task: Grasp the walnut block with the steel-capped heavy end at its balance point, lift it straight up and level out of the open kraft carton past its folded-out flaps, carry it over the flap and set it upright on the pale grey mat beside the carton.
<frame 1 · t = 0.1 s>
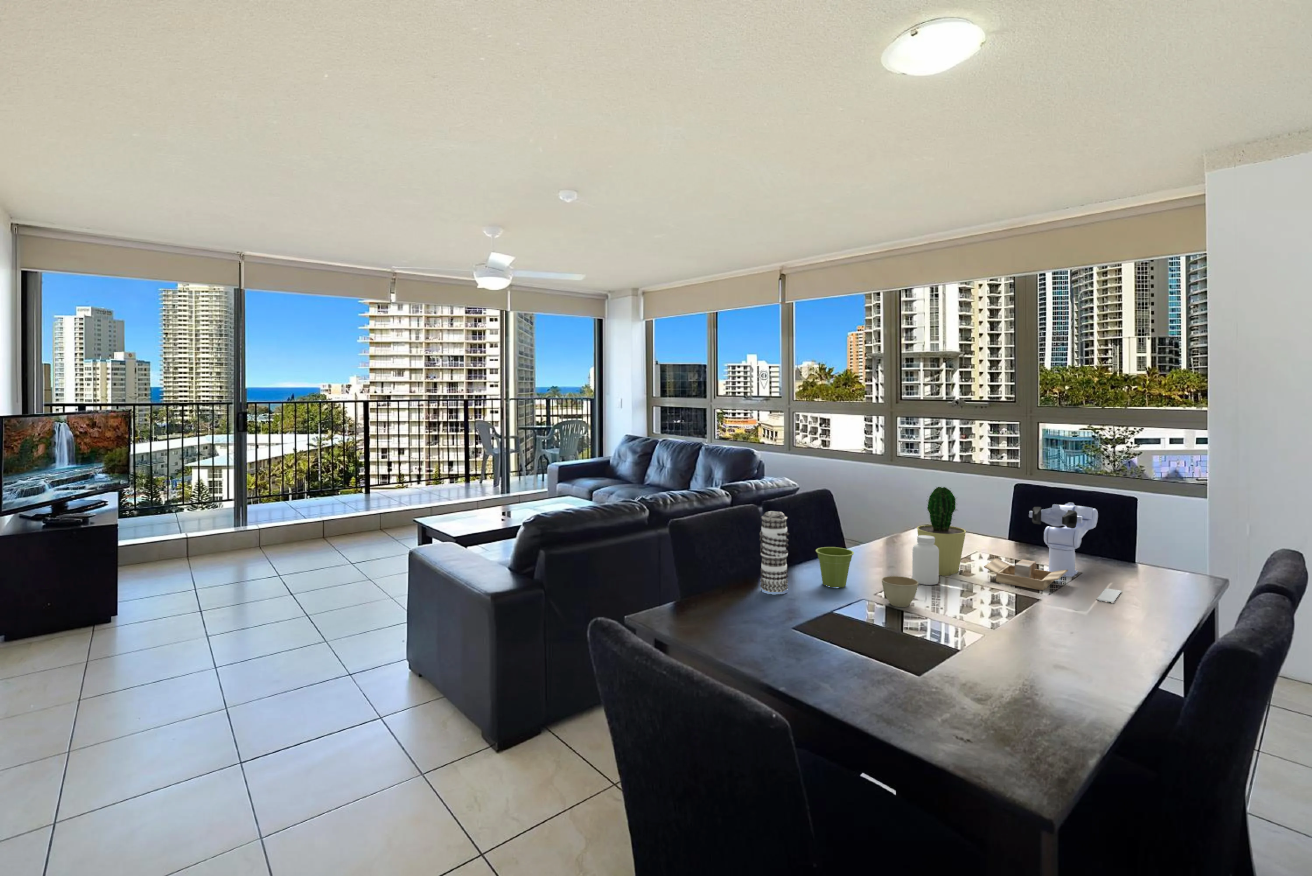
hand: (1048, 518, 196), 22 cm above the table, tool horizontal, fingers open, 7 cm apart
carton: (1024, 583, 201), on the table
flower pot: (899, 605, 182), on the table
plant pot: (834, 586, 201), on the table
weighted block: (1024, 581, 201), point 1 cm above the table, touching carton
grey mat: (1093, 593, 189), on the table
pill bottle: (925, 582, 203), on the table
potted cactus: (940, 571, 215), on the table
decorative candle: (774, 591, 196), on the table
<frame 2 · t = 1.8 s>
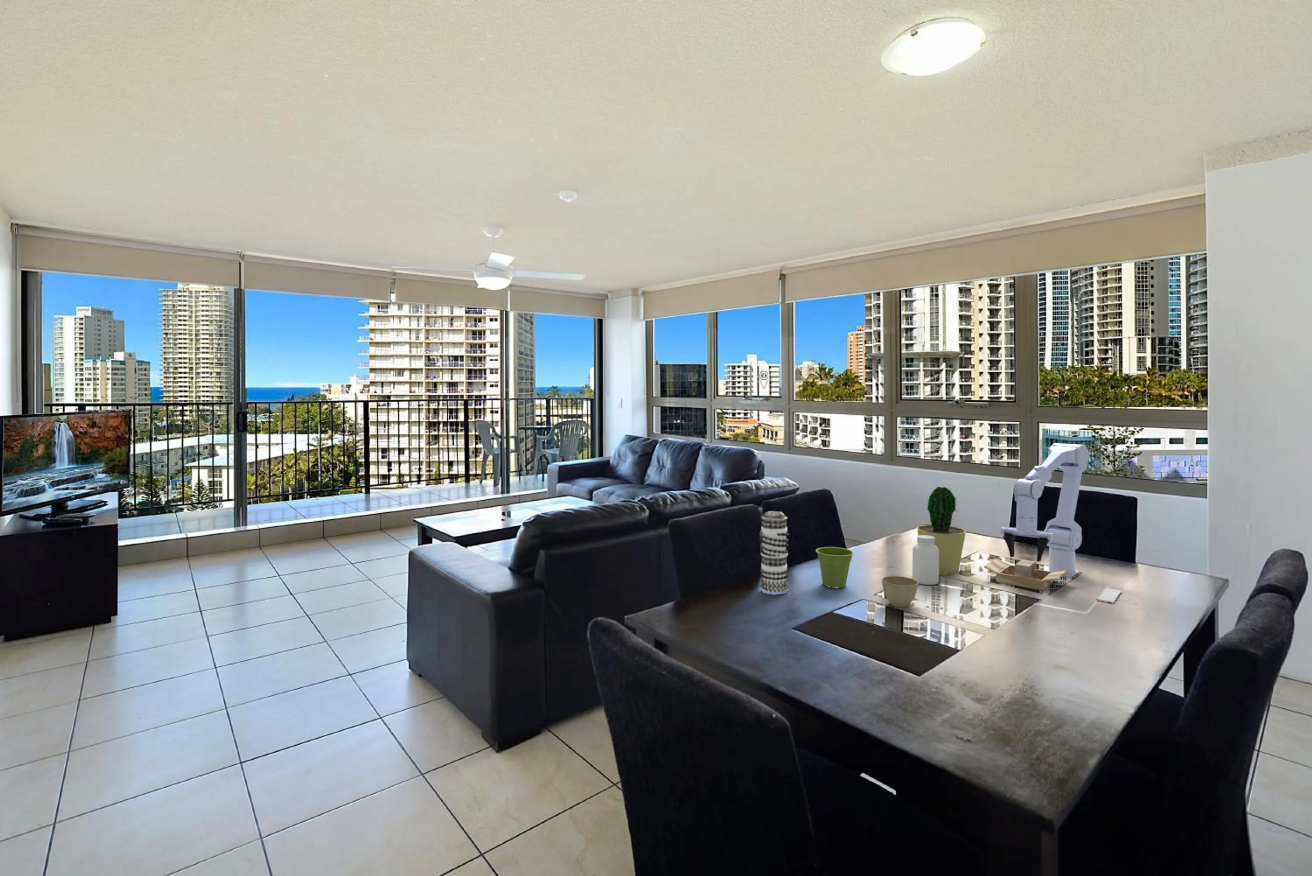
hand: (1025, 558, 200), 8 cm above the table, tool pointing down, fingers open, 7 cm apart
nothing on the table moved.
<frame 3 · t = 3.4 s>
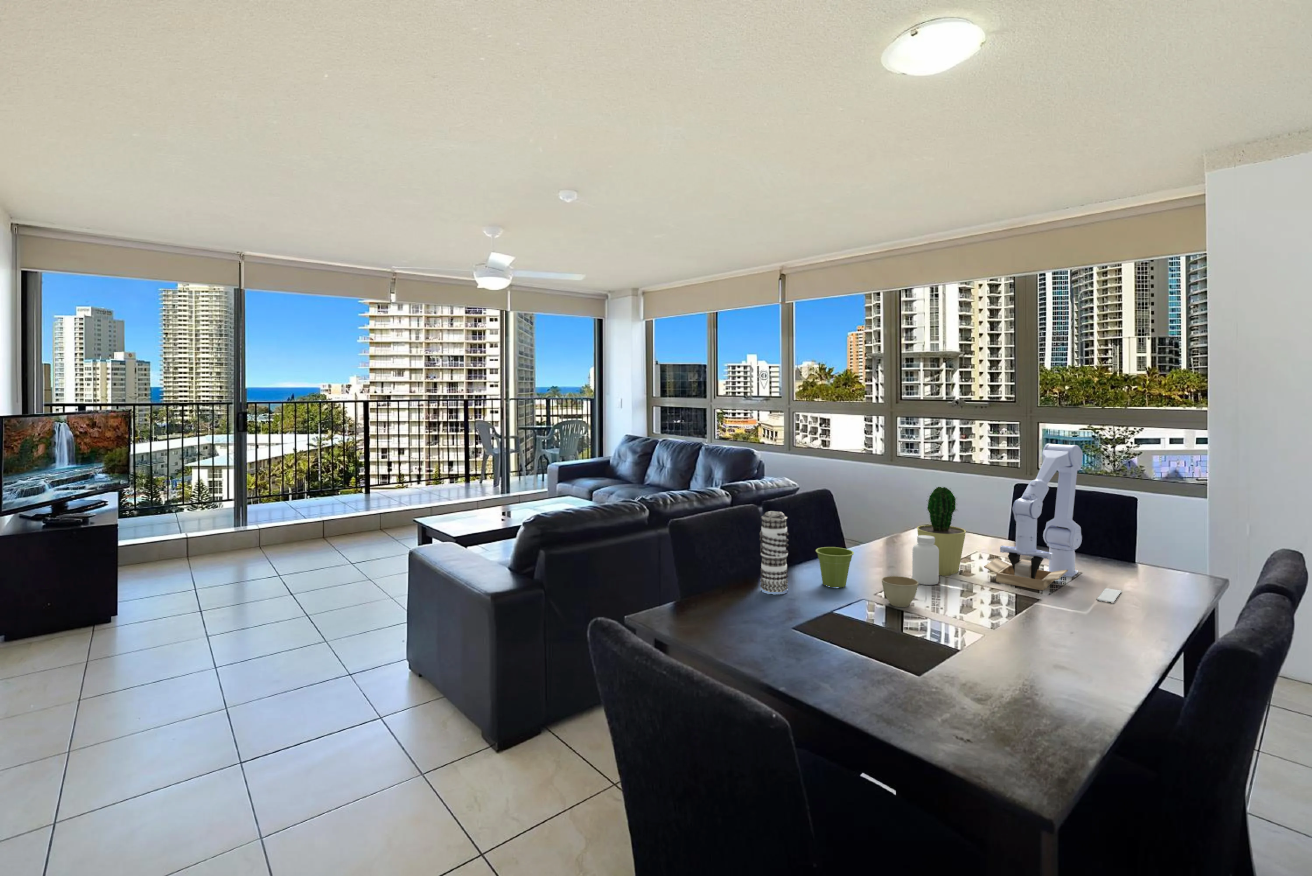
hand: (1025, 577, 200), 2 cm above the table, tool pointing down, fingers closed on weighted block, 4 cm apart
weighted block: (1024, 581, 201), point 1 cm above the table, touching carton, gripper
everything else where it was.
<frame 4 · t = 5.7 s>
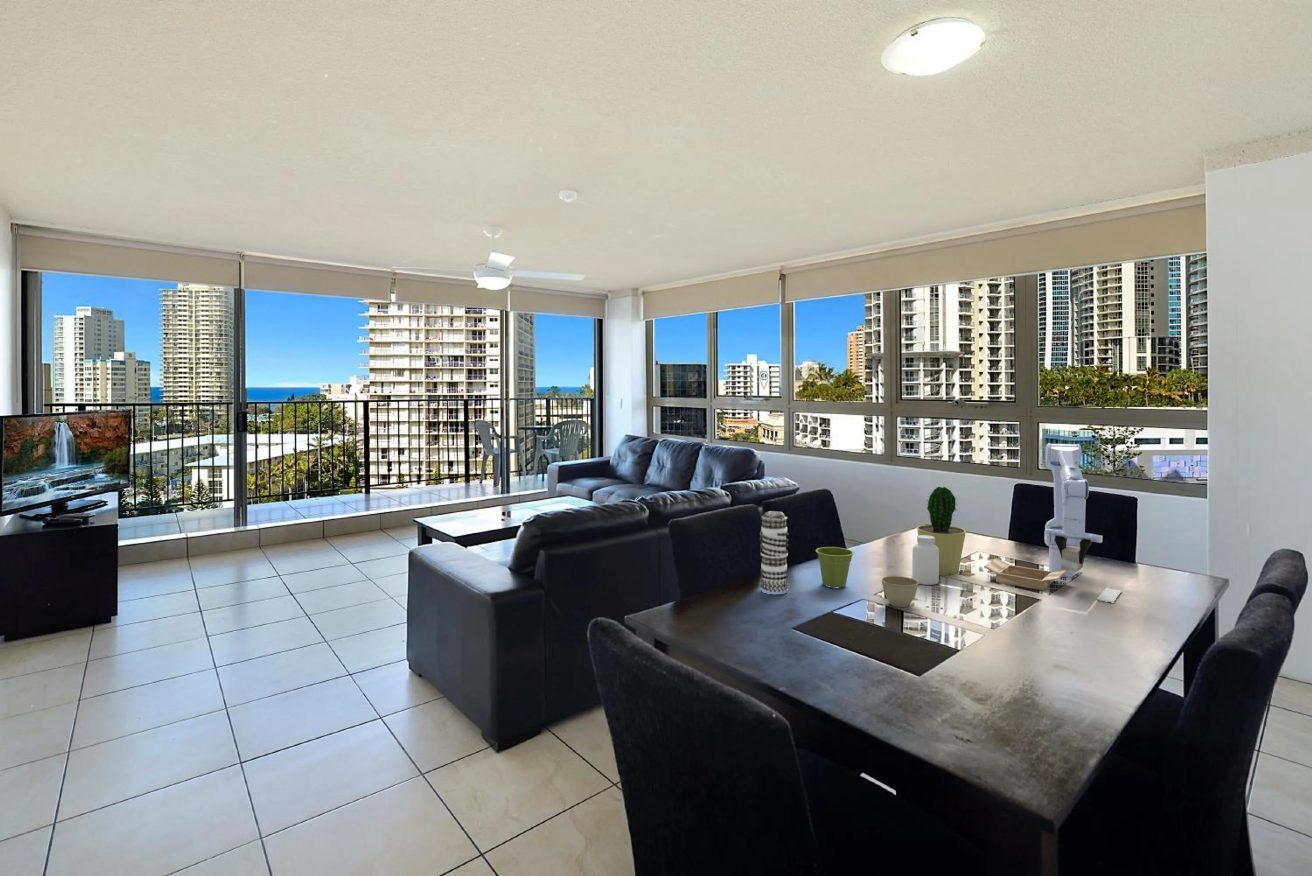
hand: (1072, 562, 192), 9 cm above the table, tool pointing down, fingers closed on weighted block, 4 cm apart
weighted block: (1072, 568, 192), point 7 cm above the table, touching gripper
everything else where it was.
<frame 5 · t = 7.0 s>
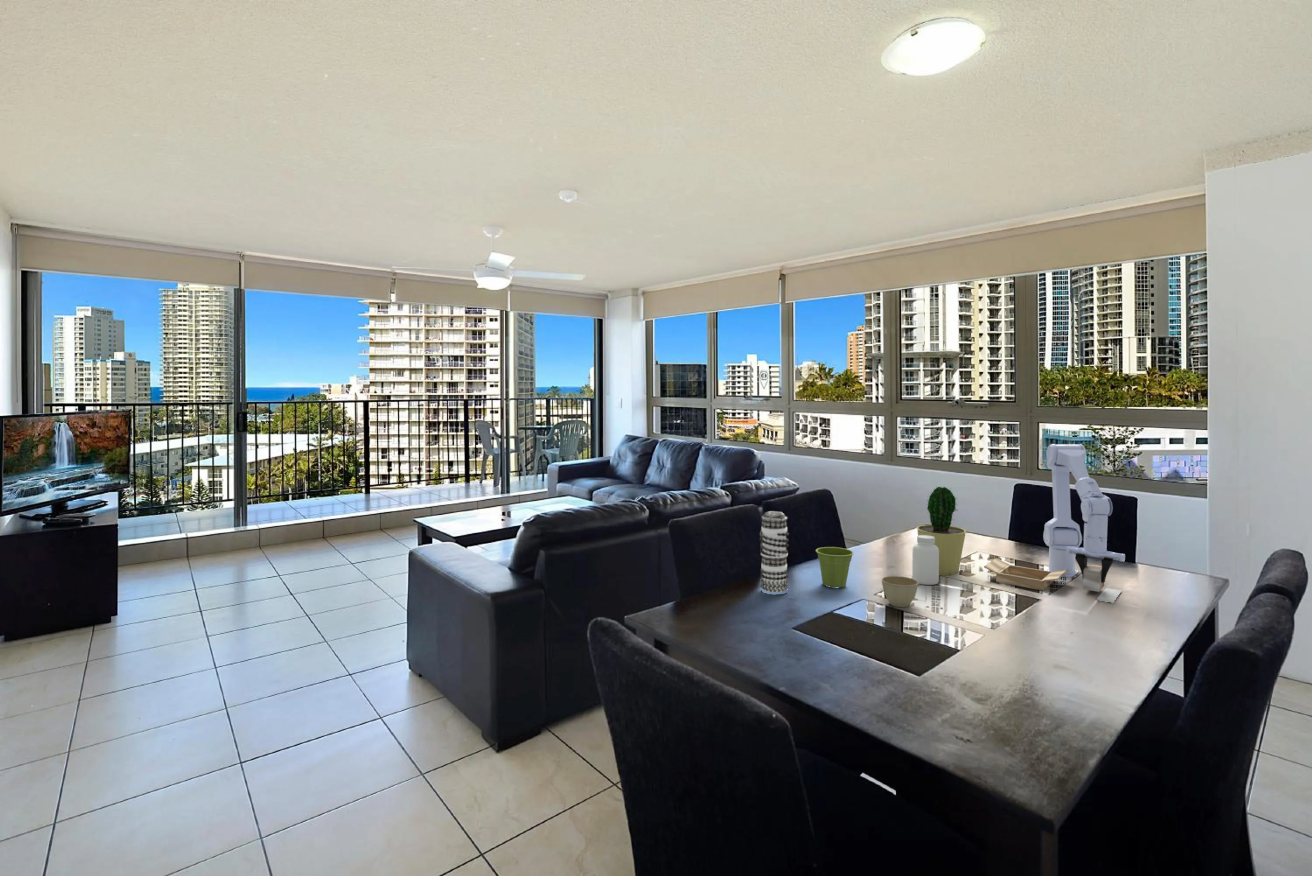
hand: (1093, 580, 189), 4 cm above the table, tool pointing down, fingers closed on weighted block, 4 cm apart
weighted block: (1093, 587, 189), point 2 cm above the table, touching gripper
everything else where it was.
when the fingers open (3 cm above the table, at t = 8.1 s): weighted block stays where it is, resting on grey mat.
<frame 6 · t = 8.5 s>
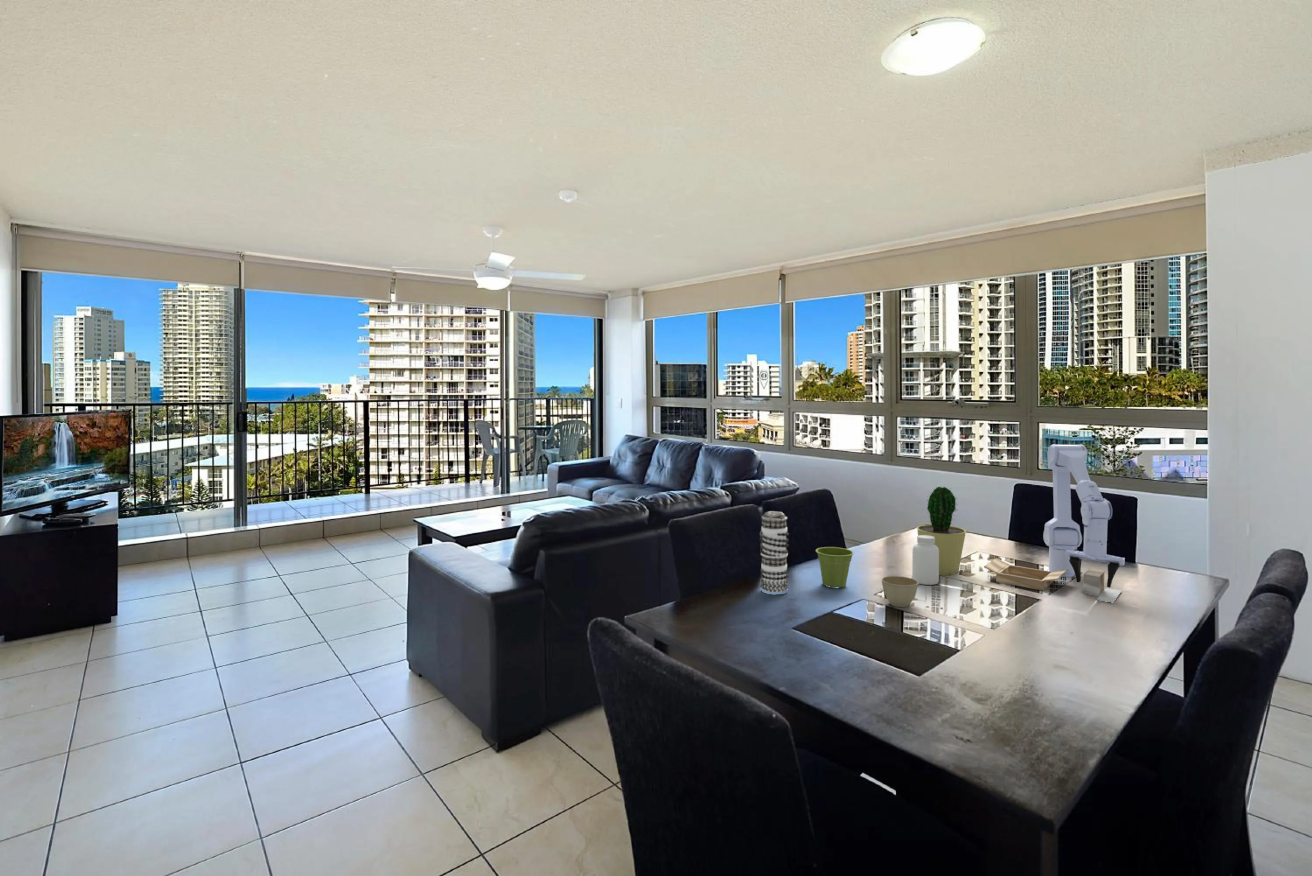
hand: (1093, 584, 189), 3 cm above the table, tool pointing down, fingers open, 7 cm apart
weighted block: (1093, 591, 189), resting on grey mat
everything else where it was.
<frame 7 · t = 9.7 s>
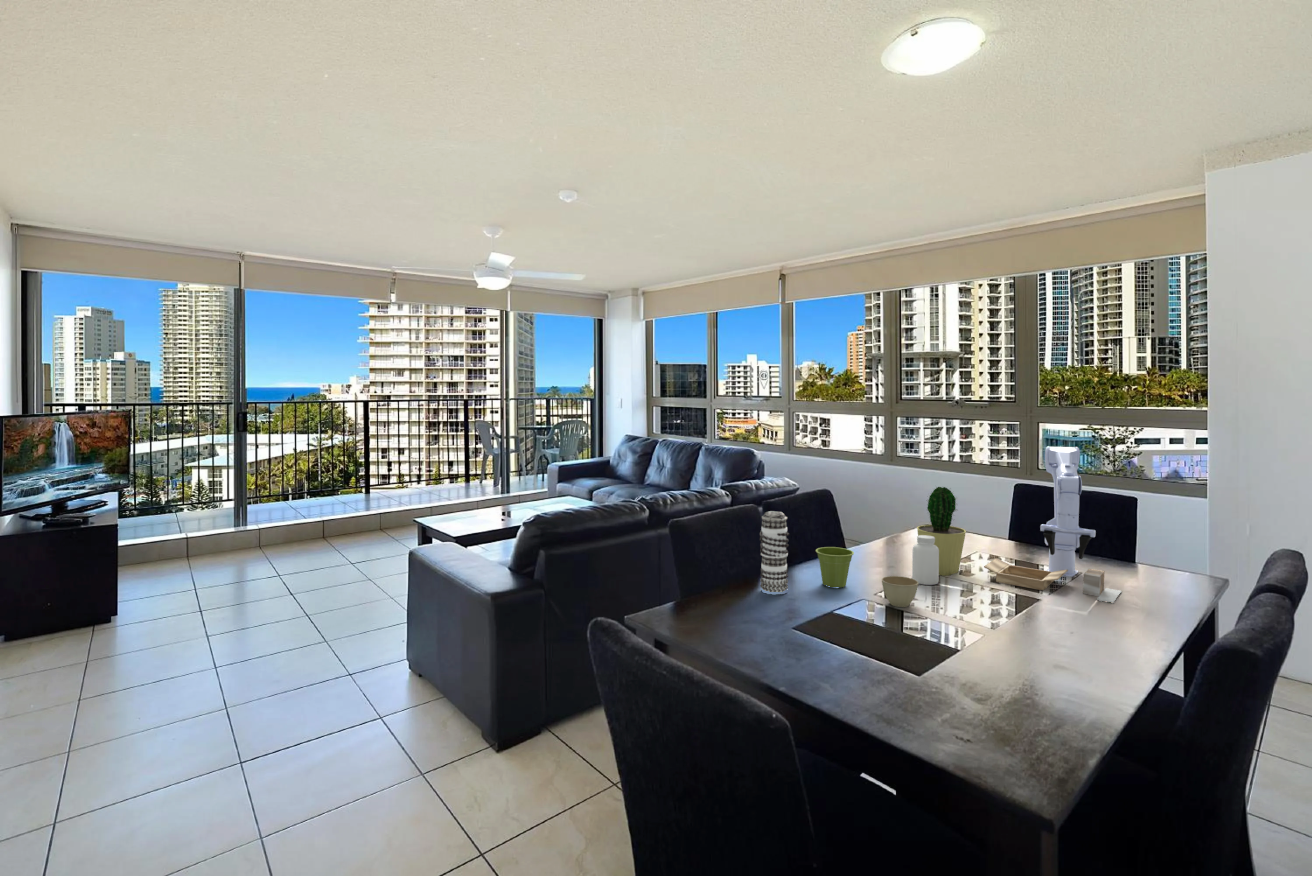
hand: (1066, 556, 197), 9 cm above the table, tool pointing down, fingers open, 7 cm apart
nothing on the table moved.
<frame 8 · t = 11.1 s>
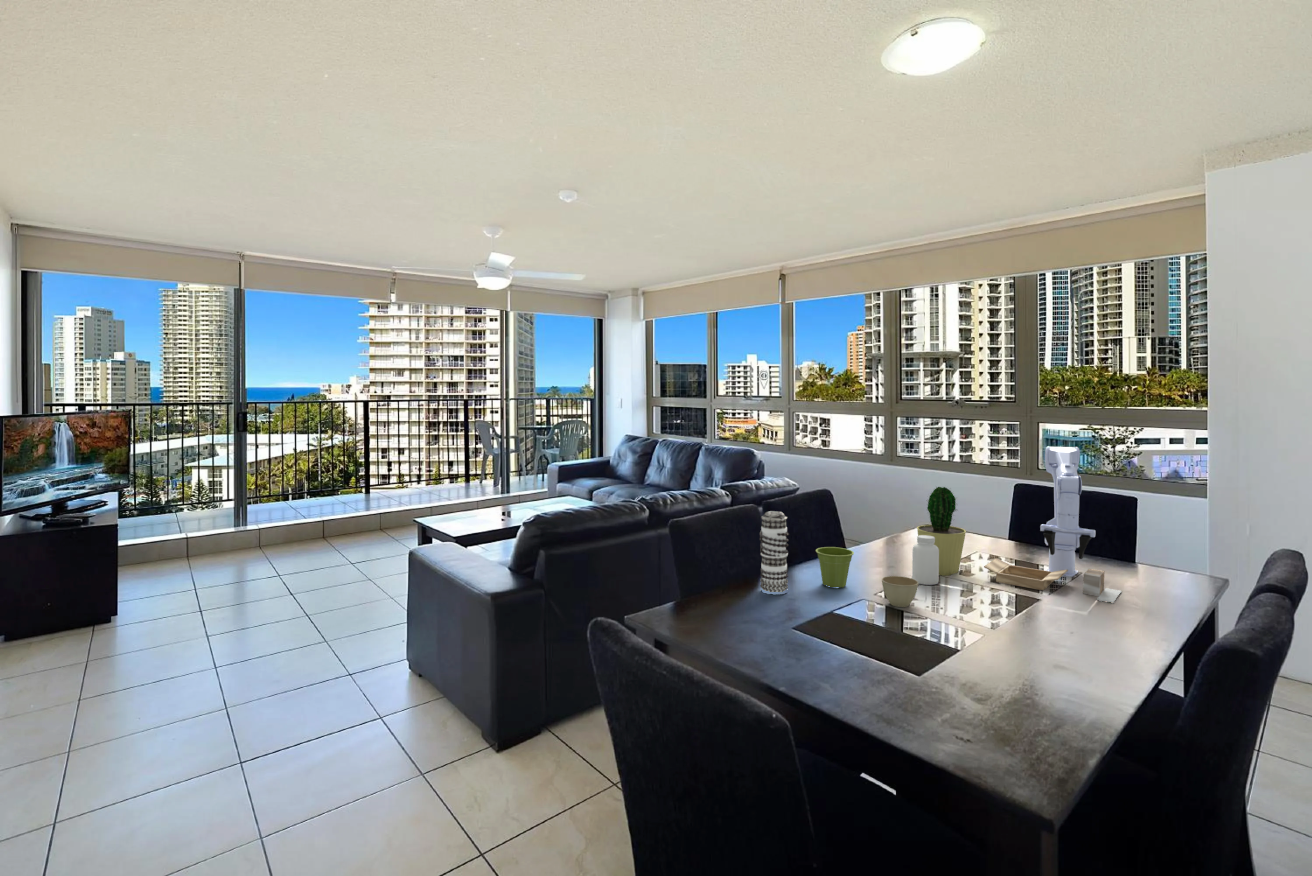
hand: (1066, 556, 197), 9 cm above the table, tool pointing down, fingers open, 7 cm apart
nothing on the table moved.
at the end: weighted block inside the target area on the grey mat (0.0 cm from its centre), point 0.5 cm above the grey mat's base; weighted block tilted 0°; the gripper is holding nothing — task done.
